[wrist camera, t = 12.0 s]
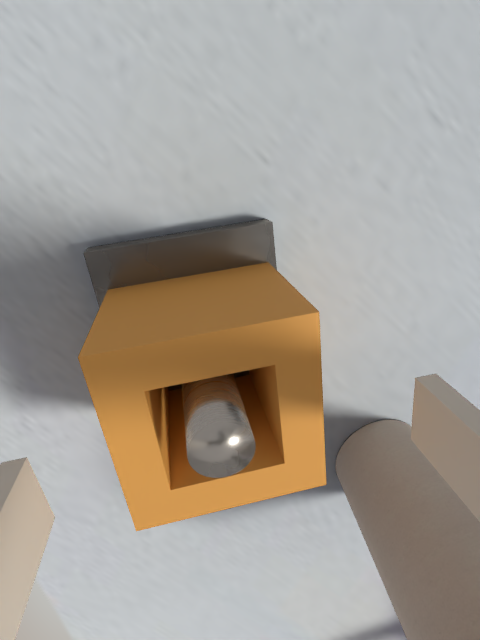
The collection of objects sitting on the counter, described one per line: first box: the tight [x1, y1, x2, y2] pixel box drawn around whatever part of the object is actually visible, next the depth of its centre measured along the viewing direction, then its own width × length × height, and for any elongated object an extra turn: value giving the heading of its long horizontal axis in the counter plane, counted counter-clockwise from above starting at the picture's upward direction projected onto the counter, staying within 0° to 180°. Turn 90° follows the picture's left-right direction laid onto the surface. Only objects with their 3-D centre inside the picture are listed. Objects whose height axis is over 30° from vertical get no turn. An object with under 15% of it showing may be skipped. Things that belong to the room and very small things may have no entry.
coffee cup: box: [336, 420, 480, 640], centre depth 21 cm, size 10×10×15 cm
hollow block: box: [78, 262, 326, 531], centre depth 17 cm, size 8×8×7 cm
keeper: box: [84, 219, 277, 478], centre depth 17 cm, size 12×9×9 cm
